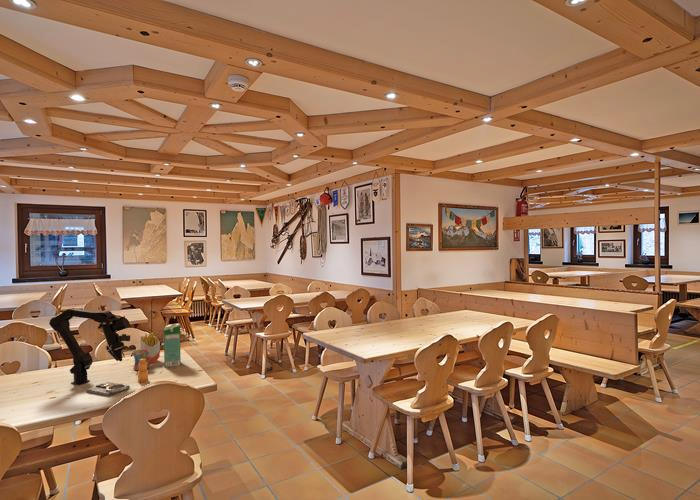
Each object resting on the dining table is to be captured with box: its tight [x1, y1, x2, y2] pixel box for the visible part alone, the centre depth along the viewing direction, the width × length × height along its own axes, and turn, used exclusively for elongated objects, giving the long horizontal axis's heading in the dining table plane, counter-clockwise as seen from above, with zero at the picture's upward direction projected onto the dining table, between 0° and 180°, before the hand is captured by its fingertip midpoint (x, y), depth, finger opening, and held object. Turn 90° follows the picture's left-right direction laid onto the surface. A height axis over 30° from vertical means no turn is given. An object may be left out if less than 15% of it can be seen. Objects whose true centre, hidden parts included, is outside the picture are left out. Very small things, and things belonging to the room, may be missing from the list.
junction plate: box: [85, 381, 131, 397], centre depth 211 cm, size 18×12×2 cm, turn 68°
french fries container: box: [139, 332, 161, 365], centre depth 261 cm, size 5×11×18 cm, turn 156°
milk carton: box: [163, 322, 182, 368], centre depth 255 cm, size 9×9×25 cm
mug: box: [131, 349, 151, 371], centre depth 247 cm, size 12×9×11 cm
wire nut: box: [137, 359, 149, 384], centre depth 226 cm, size 5×5×12 cm
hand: (119, 360), depth 223 cm, fingers open, 9 cm apart
